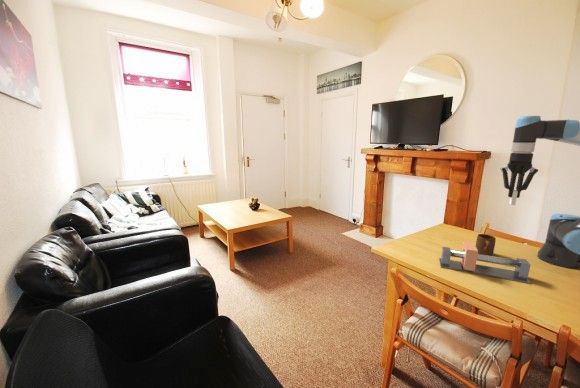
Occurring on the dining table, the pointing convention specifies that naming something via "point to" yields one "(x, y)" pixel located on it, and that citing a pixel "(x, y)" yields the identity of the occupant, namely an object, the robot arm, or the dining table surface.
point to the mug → (485, 244)
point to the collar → (469, 256)
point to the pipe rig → (518, 275)
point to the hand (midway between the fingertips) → (512, 204)
